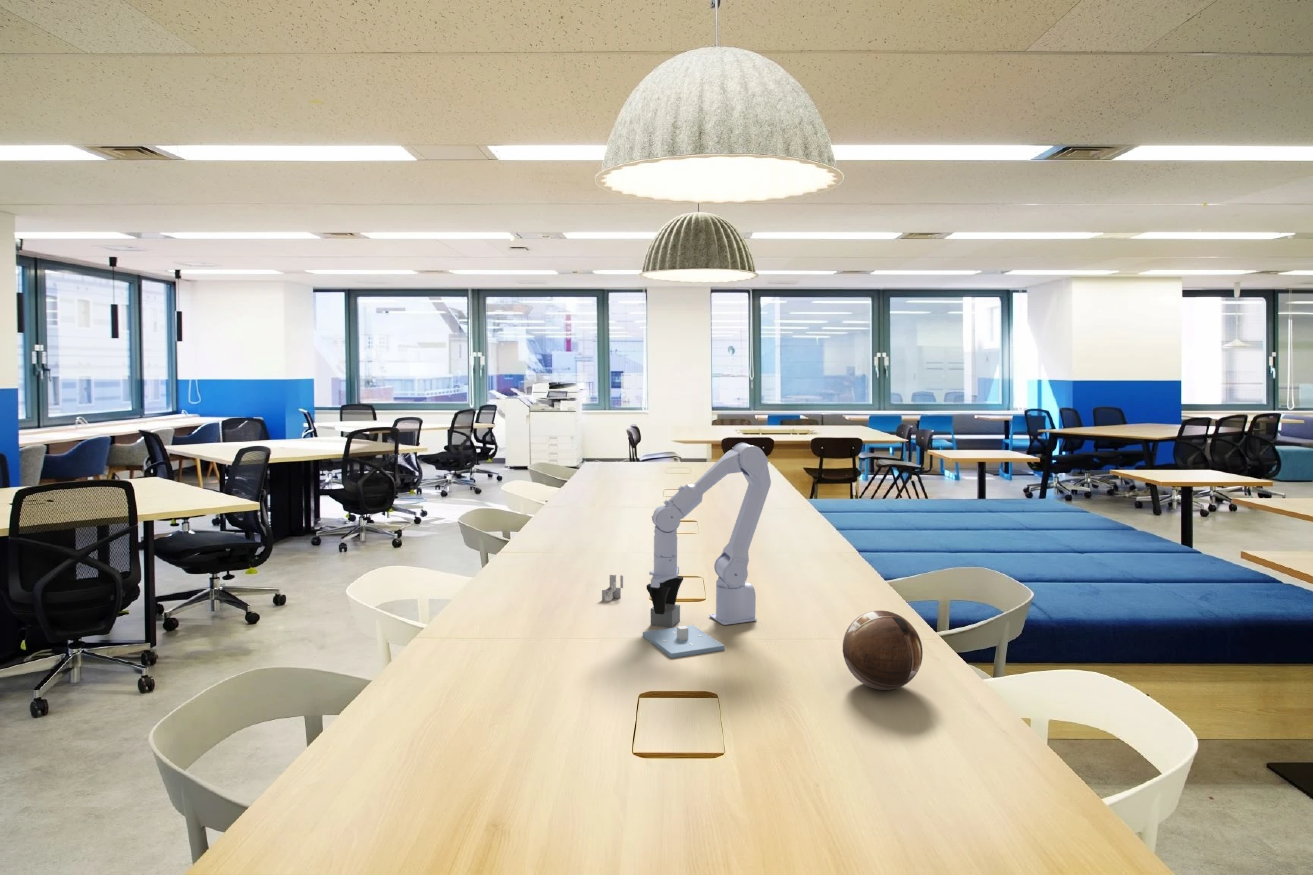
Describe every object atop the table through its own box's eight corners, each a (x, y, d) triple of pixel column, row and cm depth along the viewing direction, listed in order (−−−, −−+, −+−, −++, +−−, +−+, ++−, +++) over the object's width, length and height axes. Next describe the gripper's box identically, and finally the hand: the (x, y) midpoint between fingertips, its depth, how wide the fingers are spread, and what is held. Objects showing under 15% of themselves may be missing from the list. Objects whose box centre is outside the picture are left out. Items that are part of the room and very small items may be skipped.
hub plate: (692, 629, 193) (692, 614, 193) (724, 649, 178) (724, 634, 178) (642, 636, 188) (642, 620, 187) (671, 658, 173) (671, 641, 173)
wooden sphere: (826, 679, 161) (828, 606, 160) (886, 668, 167) (888, 598, 166) (874, 708, 147) (876, 628, 146) (938, 695, 153) (940, 618, 152)
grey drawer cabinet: (658, 618, 201) (658, 601, 201) (679, 620, 199) (680, 603, 199) (650, 624, 196) (650, 607, 196) (672, 627, 194) (672, 610, 194)
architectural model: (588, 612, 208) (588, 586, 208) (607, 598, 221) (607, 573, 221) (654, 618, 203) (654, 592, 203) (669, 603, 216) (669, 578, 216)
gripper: (660, 547, 205) (660, 600, 206) (639, 559, 191) (638, 615, 192) (687, 550, 202) (686, 603, 203) (666, 562, 189) (666, 619, 190)
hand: (665, 609), depth 197 cm, fingers open, 7 cm apart
